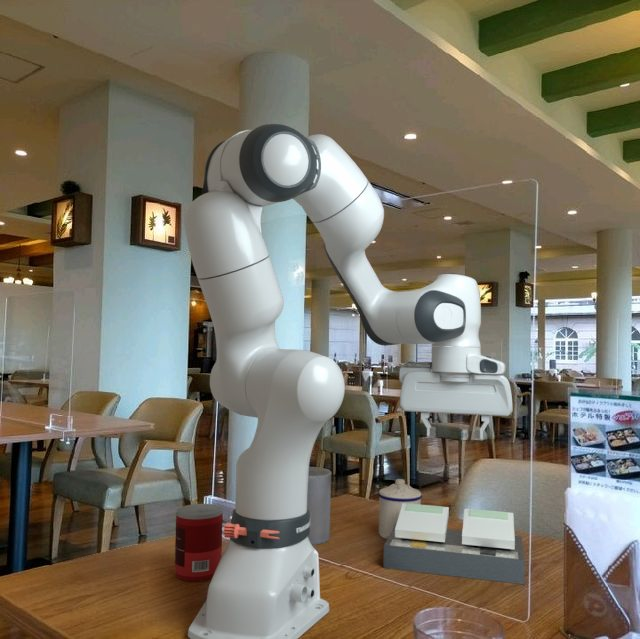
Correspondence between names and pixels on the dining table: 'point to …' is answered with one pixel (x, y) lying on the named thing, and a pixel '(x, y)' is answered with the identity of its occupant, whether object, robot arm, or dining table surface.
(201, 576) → the canned food
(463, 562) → the switch unit
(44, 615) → the dining table surface
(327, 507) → the pillar candle
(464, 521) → the rocker
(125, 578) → the dining table surface
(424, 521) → the rocker
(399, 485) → the teacup with lid
